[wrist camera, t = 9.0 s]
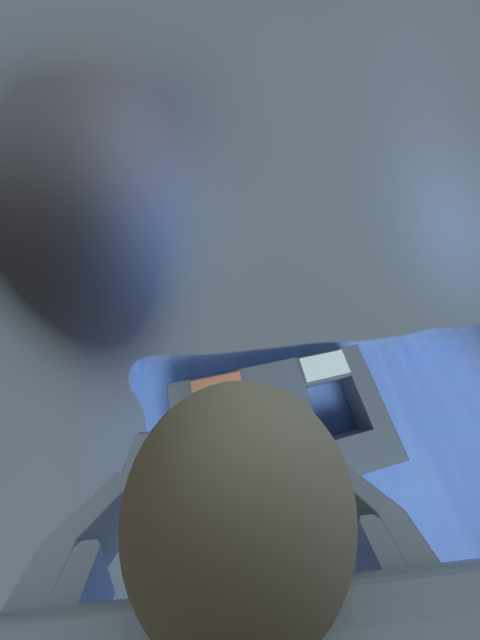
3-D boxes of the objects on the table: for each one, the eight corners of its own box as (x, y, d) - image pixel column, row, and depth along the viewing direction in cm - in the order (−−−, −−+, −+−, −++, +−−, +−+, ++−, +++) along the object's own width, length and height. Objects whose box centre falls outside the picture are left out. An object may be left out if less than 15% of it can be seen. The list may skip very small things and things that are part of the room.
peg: (229, 398, 16) (249, 342, 5) (269, 446, 15) (401, 507, 4) (182, 441, 15) (71, 491, 4) (222, 498, 14) (229, 798, 3)
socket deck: (344, 351, 29) (359, 343, 26) (388, 455, 25) (412, 460, 22) (172, 388, 26) (165, 383, 23) (185, 517, 21) (179, 532, 18)
